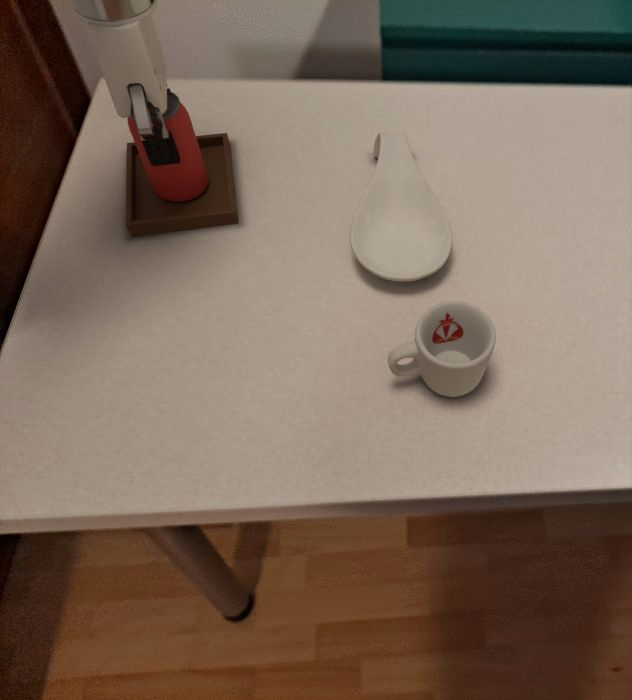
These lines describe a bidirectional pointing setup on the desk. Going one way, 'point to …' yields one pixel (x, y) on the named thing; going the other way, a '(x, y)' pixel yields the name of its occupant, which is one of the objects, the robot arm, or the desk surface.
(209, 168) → the tray
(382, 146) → the spoon rest
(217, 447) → the desk surface
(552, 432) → the desk surface
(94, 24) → the robot arm
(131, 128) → the beer can
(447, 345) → the cup
